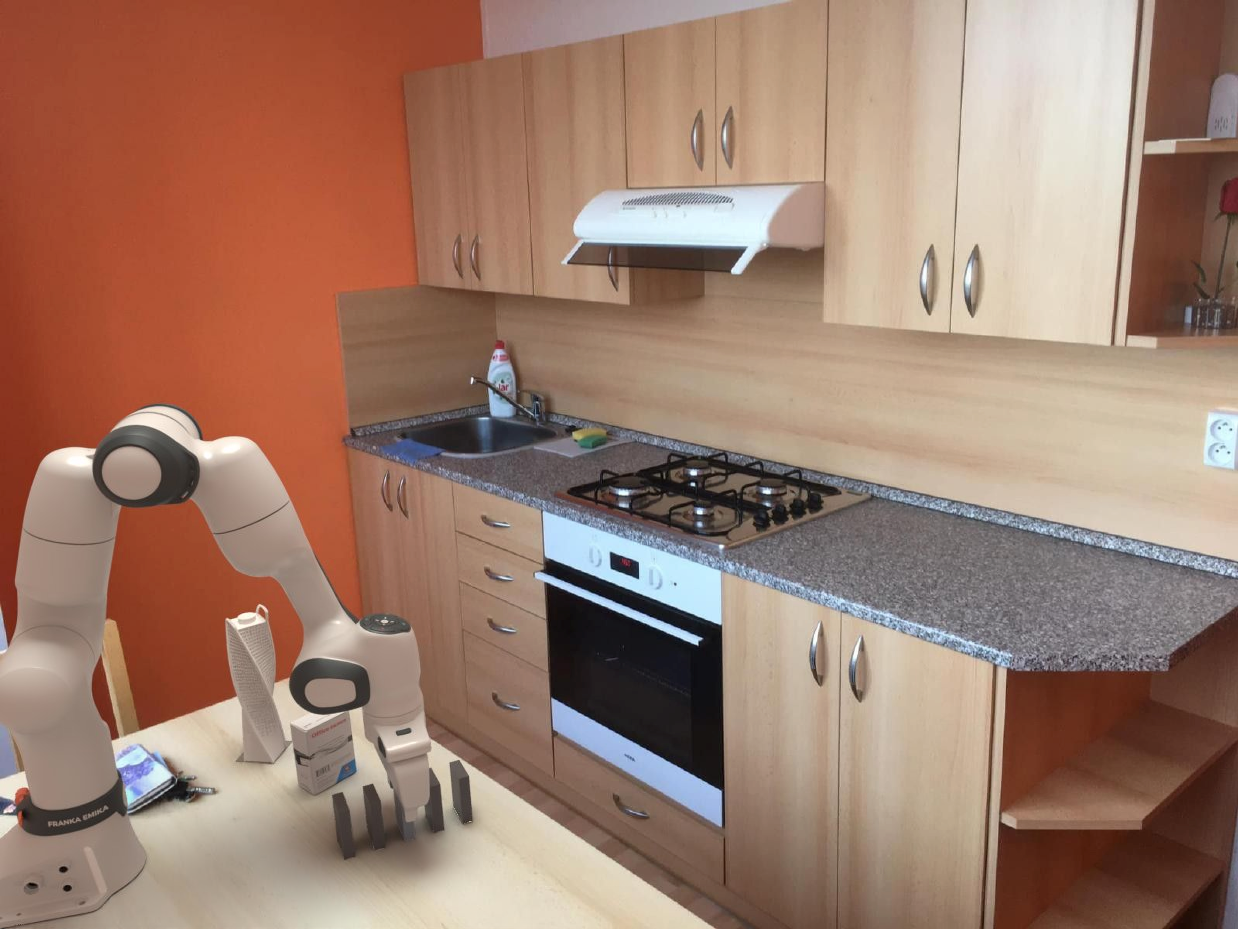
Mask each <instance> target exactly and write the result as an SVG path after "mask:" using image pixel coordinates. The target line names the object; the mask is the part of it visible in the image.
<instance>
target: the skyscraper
mask: <svg viewBox="0 0 1238 929" xmlns="http://www.w3.org/2000/svg"><path fill="white" fill-rule="evenodd" d="M260 608H262V610H264V613H265V615H264V616H265V618H264V617H263V616H262V615H261V614H260V612H259V611H260ZM224 624H225V638H226V651H227V660H228V664H229V666H228V667H229V671H230V676H231V680H232V684H233V688H234V691H235V695H236V697H237V700H238V702H239V705H240V707H241V728H242V749H243V752H241V754H240V755H239V756H238V757H237V759H236V760H235V762H238V763H253V764H258V763H259V764H271V765H272V764H273V765H275V763H276V762H277V761H278V760H279V758H280V757H281V756H282V755H283V753H284V752H285V751H286V750H287V749H288V747H290V745H291V744H293V742H292V740H286V736H285V732H284V728H283V724H282V721H281V719H280V714H279V711H278V708H277V706H276V702H275V699H274V698H273V696H274V691H275V682H276V671H277V670H276V667H277V666H276V665H277V664H276V660H277V659H276V651H275V644H274V640H273V634H272V631H271V626H270V623H269V610H268V609H267V608H266V606H264V605H263V604H258V605H257V606H256V610H255V612H252V611H251V612H244V613H241V614H239V615H237V617H235V618H232V619H230V618H228V617H226V618H225V622H224Z"/></svg>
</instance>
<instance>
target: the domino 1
mask: <svg viewBox="0 0 1238 929" xmlns="http://www.w3.org/2000/svg"><path fill="white" fill-rule="evenodd" d="M331 800H332V808H333V816H334V817H333V818H334V825H335V833H336V838H337V839H336V840H337V841H336V842H337V843H338V847H339V849H340V853H341V855H342V858H343V861H346V860H349V859H353V858H355V857H356V854H355V853H356V852H355V844H354V837H353V836H354V835H353V828H352V819H351V818H352V817H351V810H350V807H349V805H348V801H347V799H346V797H345V794H344V792H343V791H340V792H337V793H333V794H331Z"/></svg>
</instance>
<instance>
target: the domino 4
mask: <svg viewBox="0 0 1238 929" xmlns="http://www.w3.org/2000/svg"><path fill="white" fill-rule="evenodd" d="M429 783H430V796H429V800H428V803H427V804H426V805H424V806H423V807H424V814H425V815H424V816H425V818H426V820H427V821H428V824H429V826H430V827H431V830H432V831H433V833H434V834H435V833H439V832H442V831H445V821H444V808H443V798H442V787H441V786H442V785H441V782H440V781H439V779H438V778H437V775H436V774H435V771H434V770H433V768H432V767H429Z"/></svg>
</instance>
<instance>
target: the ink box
mask: <svg viewBox="0 0 1238 929" xmlns="http://www.w3.org/2000/svg"><path fill="white" fill-rule="evenodd" d="M289 727H290V734H291V741H292V747H293V748H292V750H293V755H294V756H293V757H294V762H295V763H294V764H295V770H296V777H297V785H298V786H299V787H301V789H304V790H305V791H307V792H309V793H310V794H312V795H314V796H317V795H318V794H320V793H322V792H323V791H325V790H327V789H328V788H330V787H332V786H334V785H335V784H337V783H339V782H341V781H342V780H344V779H347V778H348V777H350V776H352V775H353V774H355V773H356V772H358V771H357V764H356V763H357V762H356V755H355V748H354V739H353V730H352V725H351V716H350V711H345V712H340V713H335V714H329V715H318V714H313V713H310V712H309V713H307V714H305V715H303V716H301V717H299V718H297V719H295V720H293V721H291V722H289Z"/></svg>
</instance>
